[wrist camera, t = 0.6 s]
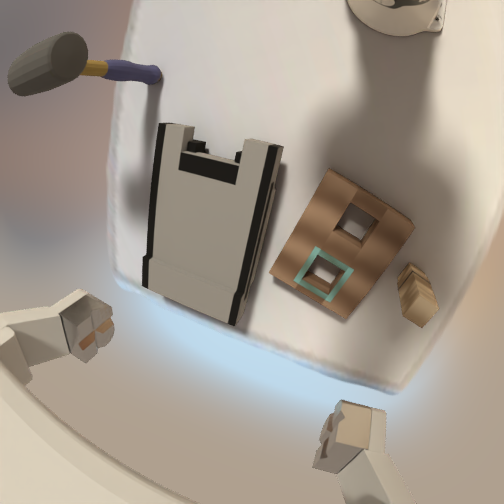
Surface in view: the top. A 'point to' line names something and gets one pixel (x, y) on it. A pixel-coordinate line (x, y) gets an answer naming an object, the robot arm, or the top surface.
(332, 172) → the board
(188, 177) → the game console
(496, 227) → the top surface
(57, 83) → the rubber mallet
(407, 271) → the peg
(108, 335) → the robot arm
